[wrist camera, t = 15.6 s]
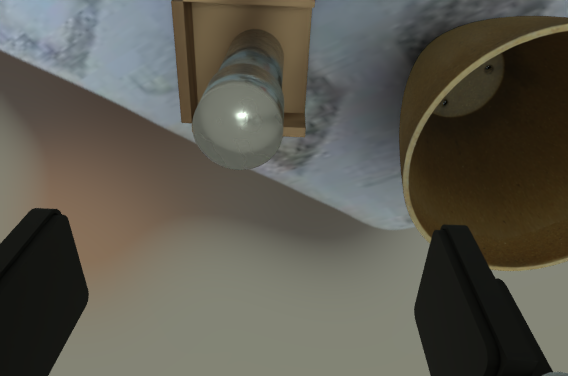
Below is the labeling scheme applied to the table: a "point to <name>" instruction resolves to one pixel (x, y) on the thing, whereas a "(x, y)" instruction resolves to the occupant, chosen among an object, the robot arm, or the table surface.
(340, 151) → the table surface
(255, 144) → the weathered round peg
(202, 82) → the tray
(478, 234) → the plant pot
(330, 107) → the table surface
